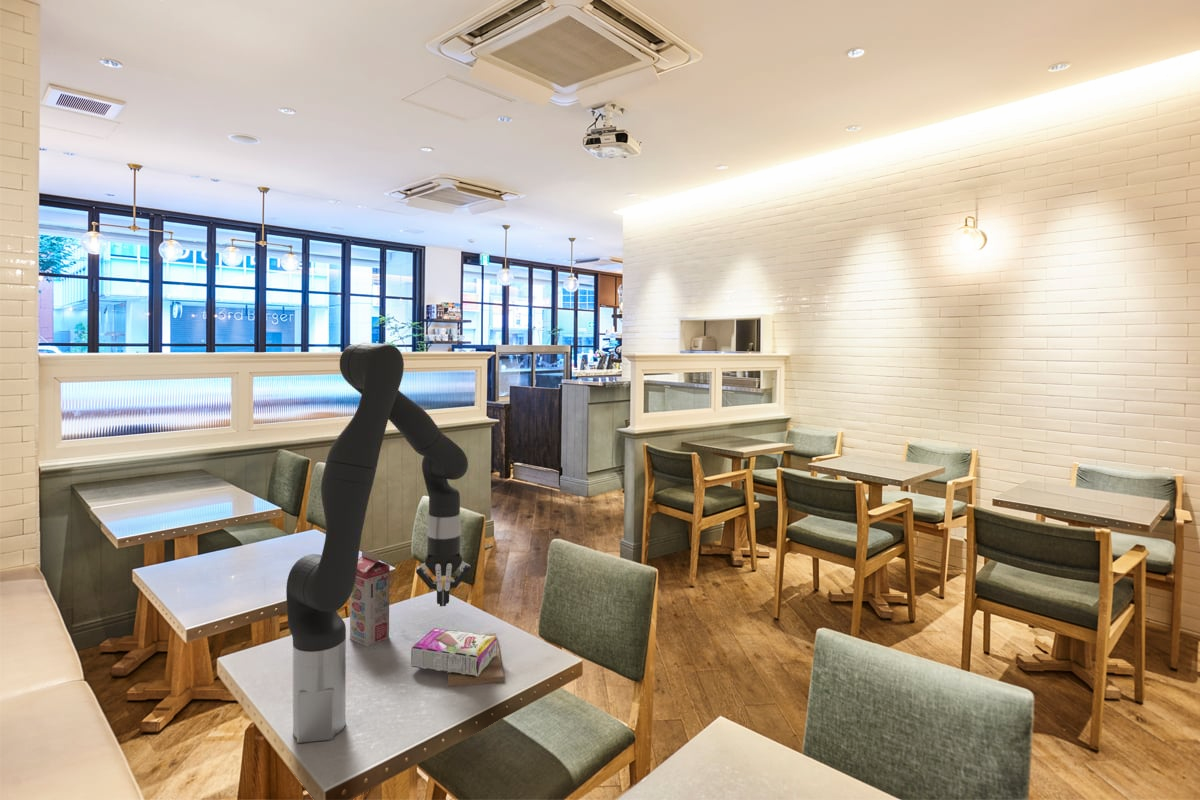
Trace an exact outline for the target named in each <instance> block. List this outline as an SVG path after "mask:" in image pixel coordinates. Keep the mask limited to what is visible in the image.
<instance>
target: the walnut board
mask: <svg viewBox="0 0 1200 800" xmlns="http://www.w3.org/2000/svg"><path fill="white" fill-rule="evenodd" d="M482 635H490V636H497V633H495V632H494V633H482ZM501 659H502V658H501V654H500V649H499V644H498V642H497V653H496V656H495V657H494V659H493V660H492V661H491V662H490V663H489V664H488V665H487V666H486V668H485V669H484V670H483V671H482V672H481V673H480V674H479V676H478V677H476V676H470V675H463V674H456V673H449V672H447V687H457V686H458V687H459V686H470V685H471V686H472V685H481V684H491V683H501V682H502V681H504V678H505V676H504V671H503V666H502V661H501Z"/></svg>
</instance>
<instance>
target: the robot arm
mask: <svg viewBox="0 0 1200 800" xmlns="http://www.w3.org/2000/svg"><path fill="white" fill-rule="evenodd" d="M404 367H405V363H404V357H403V354H402V352H401V350H400V349H399V348H398V347H396V346H395V345H392V344H387V343H380V342H379V343H377V342H376V343H375V342H356V343H352V344H350V345H349V346H346V348H345V349H343V351H342V353H341V355H340V358H339V370H340V373H341V376H342V378H344V380H345V382H347V383H348V384H349V385H350V386H351V387H352V388H353V389H354V390H356V391H357V392H358V393H359V394H360V395H361V397H360V400H359V404H358V407H357V408H356V411H355V413H354V415H353V417H352V418H351V420H350V421H349V422H348V424H347V425H346V426H345V427H344V429H343V430H342V431H341V433H340V434H339V435H338V437H337V438H336V439H335V441H334V442H333V443H332V445H331V447H330V449H329V451H328V454H327V457H326V461H325V466H324V469H323V474H322V477H321V482H320V495H321V503H322V508H323V514H324V520H325V521H324V522H325V539H324V544H323V549H322V552H321V554H317V553H313V554H312V553H311V554H307V555H304V556H303V557H300V558H299V559H298V560H297V561H296V562H295V563H294V564H293V565H292V567H291V569H290V571H289V573H288V575H287V580H286V586H285V587H286V592H285V593H286V597H285V598H286V614H287V626H288V631H290V634H291V636H292V729H293V730H292V733H293V736H294V737H295V739H296V742H297V743H298V744H300V743H310V742H319V741H320V742H321V741H329V740H333V739H334V737H335V736H336V735H337V734H339V733H340V732H341V731H342V730H344V727H346V721H347V720H346V718H347V717H346V716H347V715H346V714H347V713H346V708H347V706H346V704H347V703H346V699H347V698H346V684H347V683H346V677H347V676H346V671H347V670H346V661H347V659H346V657H347V656H346V652H347V651H346V650H347V644H346V642H347V641H346V640H347V630H346V629H347V628H346V627H347V626H346V623H345V621H344V620H343V618H341V616H340V615H339V614H338V612H337V611H339V610H340V609H341V608H343V607H344V605H345V604H347V602H348V601H349V600H350V595H351V593H352V591H353V588H354V584H355V579H356V573H357V565H358V559H359V558H360V557H359V555H360V548H361V541H362V533H363V529H364V524H365V519H366V514H367V509H368V505H369V501H370V496H371V492H372V489H373V485H374V481H375V477H376V474H377V473H376V472H377V468H378V463H379V458H380V453H381V449H382V445H383V441H384V438H385V433H386V429H387V426H388V422H390V423H391V424H392V425H393V426H394V427H395V428H396V429H397V430H398V431H399V433H400V434H401V435H402V437H403V438H404V439H405V441H407V443H408V444H409V445H410V447H412V448H413V450H414V451H415V452H416V453H417V454H418V455H420V456H423V458H422V462H421V467H422V468H421V471H422V475H423V480H424V484H425V489H426V490H427V495H428V518H427V528H426V532H427V537H426V538H427V539H426V540H427V542H426V547H427V548H426V549H427V550H426V557H425V558H424V562H423V563H422V564H421V565H418V566H416V569H415V573H416V574H417V576H418V577H419V578H420V579H421V580H422V582H423V583H424V584H425V585H426V586H427V587H428V588H429V590H435V591H436V604H437V605H439V607H447V605H448V604H449V603H450V591H451V590H452V589H456V588H457V587H458V586H459V585H460V584H461V582H462V581H463V580H464V578H466V576H467V575H468V574H469V573H470V572H471V564H470V563H467V562H465V561H463V557H462V555H461V531H462V525H461V524H462V523H461V522H462V521H461V515H460V513H461V495H460V492H459V490H458V489H457V488H455V487H453V486H452V485H451V484H449V482H448V480H450V481H451V480H454V481H455V480H459V479H461V478H462V477H464V476H465V475H466V473H467V471H468V468H469V462H468V457H467V454H465V451H464V450H463V449H462V448H461V447H460V446H459V445H458V444H457V443H456V442H455V441H453V440H452V439H451V438H450V437H448V436H447V435H445V434H444V433H443V432H442V431H441V430H440V428H439V427H438V426H437V423H435V421H434V420H433V419H432V417H431V416H430V415H429V413H427V411H425V409H424V408H422V407H421V406H420V405H418V403H416V402H415V401H413V400H412V399H410V398H409V397H408V396H407V395H405V394H404V393H403V392H402V391H401V390H400V386H401V382H402V379H403V376H404ZM458 568H459V571H458V573H457V574H456V576H455V577H454V578H453V580H451V579H452V576H453V575H454V574H455V572H456V571H457V570H458ZM428 570H429V571H430V572H431V574H432V575H433V576H435V581H434V579H432V577H431V576H430V575H429V573H428ZM443 577H444V583H443ZM443 584H444V585H443Z"/></svg>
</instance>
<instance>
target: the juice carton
mask: <svg viewBox="0 0 1200 800" xmlns="http://www.w3.org/2000/svg"><path fill="white" fill-rule="evenodd" d="M390 568H391V567H390V564H388V563H385V562H381V561H380V555H379V554H375V553H374V552H370V551H367V550H366V549H362V550H361V556H360V557H358V565H357V573H356V579H355V584H354V588H353V591H352V593H351V595H350V597H349V639H350V640H351V641H353V642H355V643H357V644H359V645H361V646H363V647H365V648H366V647H369V646H371V645H374V644H377V643H379V642H382V641H384V640H386V639H390V570H391V569H390Z"/></svg>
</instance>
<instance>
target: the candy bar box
mask: <svg viewBox="0 0 1200 800" xmlns="http://www.w3.org/2000/svg"><path fill="white" fill-rule="evenodd" d="M482 634H483V633H482ZM482 634H481V633H474V632H473V633H472V632H466V631H457V630H453V629H452V630H450V629H443V628H437V627H436V628H433V629H432V630H431V631H429V632H428V633H427V634H426V635H425V636H423V638H421V639H420V640H419V641H417V642H416V643H415V644H414V645H413V646H411V650H410V651H411V652H410V655H411V656H410V657H411V662H410V664H411V665H410V667H411V668H418V669H424V670H430V671H435V672H436V671H438V672H444V673H448V672H449V673H456V674H463V675H470V676H476V677H478V676H479V674H480V673H481V672H482V671H483V670H484V669H485V668H486V666H487V665H488V664H489V663H490V662H491V661H492V660H493V659H494V657H495V656H496V653H497V643H498V636H497V635H496V636H490V635H482Z"/></svg>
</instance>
